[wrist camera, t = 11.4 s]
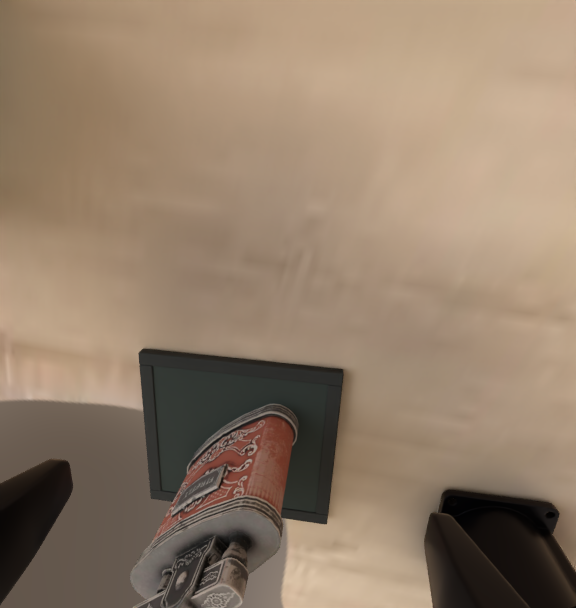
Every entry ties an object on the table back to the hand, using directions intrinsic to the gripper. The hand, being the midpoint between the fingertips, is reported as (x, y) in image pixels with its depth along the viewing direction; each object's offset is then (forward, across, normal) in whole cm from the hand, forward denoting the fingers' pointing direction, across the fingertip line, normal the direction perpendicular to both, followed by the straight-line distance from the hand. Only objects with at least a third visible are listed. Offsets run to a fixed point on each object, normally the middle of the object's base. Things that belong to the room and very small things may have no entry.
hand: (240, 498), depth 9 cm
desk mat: (+12, +3, +8) cm, 15 cm away
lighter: (+12, +3, +8) cm, 14 cm away
